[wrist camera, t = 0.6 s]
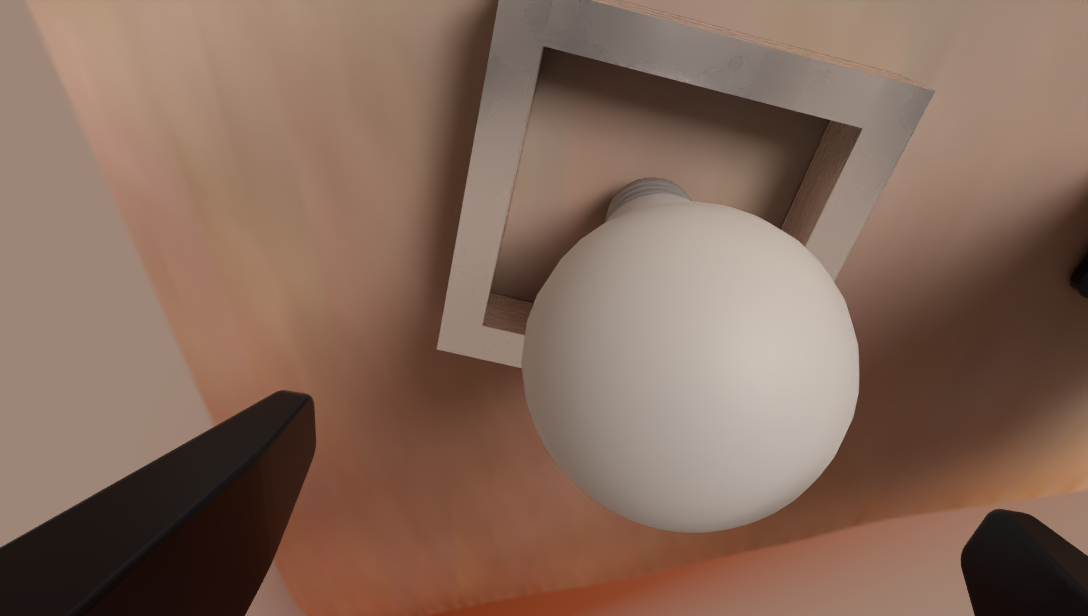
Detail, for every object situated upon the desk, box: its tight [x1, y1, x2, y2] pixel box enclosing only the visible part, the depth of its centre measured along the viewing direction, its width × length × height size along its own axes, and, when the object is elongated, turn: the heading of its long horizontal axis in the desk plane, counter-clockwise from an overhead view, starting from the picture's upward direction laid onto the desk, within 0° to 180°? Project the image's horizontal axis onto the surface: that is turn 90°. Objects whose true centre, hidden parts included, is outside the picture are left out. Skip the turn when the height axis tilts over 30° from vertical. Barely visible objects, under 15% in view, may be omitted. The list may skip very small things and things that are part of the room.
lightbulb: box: [521, 178, 859, 533], centre depth 14 cm, size 6×6×11 cm
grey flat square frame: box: [437, 0, 935, 368], centre depth 18 cm, size 10×10×2 cm
